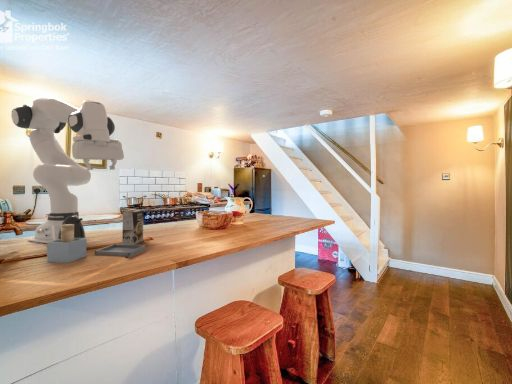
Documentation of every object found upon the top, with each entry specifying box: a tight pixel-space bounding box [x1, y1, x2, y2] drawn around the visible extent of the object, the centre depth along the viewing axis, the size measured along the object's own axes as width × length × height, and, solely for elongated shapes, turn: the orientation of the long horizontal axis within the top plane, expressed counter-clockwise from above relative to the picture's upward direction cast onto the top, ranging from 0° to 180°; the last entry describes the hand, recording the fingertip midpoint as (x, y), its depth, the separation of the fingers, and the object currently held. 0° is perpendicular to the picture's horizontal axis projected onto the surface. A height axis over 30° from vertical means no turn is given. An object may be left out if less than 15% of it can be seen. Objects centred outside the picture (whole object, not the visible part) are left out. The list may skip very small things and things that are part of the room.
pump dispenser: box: [57, 216, 87, 240], centre depth 108 cm, size 10×10×15 cm
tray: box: [94, 243, 147, 259], centre depth 105 cm, size 15×12×2 cm
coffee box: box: [121, 210, 144, 245], centre depth 123 cm, size 9×6×16 cm
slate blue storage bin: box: [46, 237, 87, 264], centre depth 93 cm, size 8×8×8 cm
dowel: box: [61, 224, 74, 243], centre depth 93 cm, size 4×4×13 cm
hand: (101, 169), depth 108 cm, fingers open, 8 cm apart
